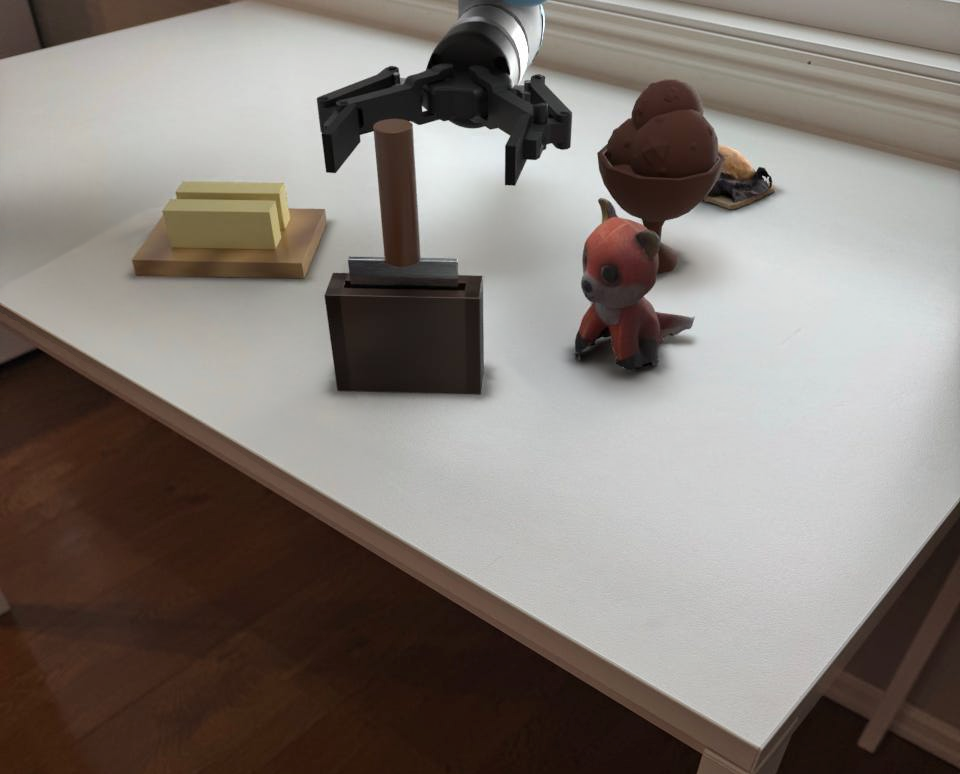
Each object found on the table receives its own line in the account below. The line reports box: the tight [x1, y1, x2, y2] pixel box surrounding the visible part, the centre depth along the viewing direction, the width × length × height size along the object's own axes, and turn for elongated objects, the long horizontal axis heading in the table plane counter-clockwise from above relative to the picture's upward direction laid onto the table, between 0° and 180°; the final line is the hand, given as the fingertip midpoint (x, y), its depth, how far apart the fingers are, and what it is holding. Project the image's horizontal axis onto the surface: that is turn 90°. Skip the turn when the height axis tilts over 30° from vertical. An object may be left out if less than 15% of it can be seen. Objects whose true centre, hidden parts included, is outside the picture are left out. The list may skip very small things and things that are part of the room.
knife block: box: [324, 272, 485, 395], centre depth 74 cm, size 11×4×8 cm, turn 86°
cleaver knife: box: [347, 119, 459, 290], centre depth 70 cm, size 8×3×19 cm, turn 86°
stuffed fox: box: [574, 197, 696, 372], centre depth 75 cm, size 8×11×12 cm
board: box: [131, 207, 328, 279], centre depth 94 cm, size 16×12×2 cm
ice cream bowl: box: [596, 78, 726, 275], centre depth 86 cm, size 11×11×15 cm
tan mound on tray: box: [703, 144, 776, 211], centre depth 102 cm, size 11×8×4 cm
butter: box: [161, 180, 290, 250], centre depth 92 cm, size 10×7×4 cm
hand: (417, 160), depth 70 cm, fingers open, 13 cm apart
